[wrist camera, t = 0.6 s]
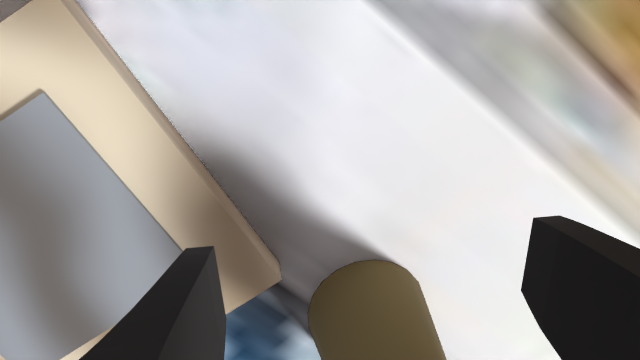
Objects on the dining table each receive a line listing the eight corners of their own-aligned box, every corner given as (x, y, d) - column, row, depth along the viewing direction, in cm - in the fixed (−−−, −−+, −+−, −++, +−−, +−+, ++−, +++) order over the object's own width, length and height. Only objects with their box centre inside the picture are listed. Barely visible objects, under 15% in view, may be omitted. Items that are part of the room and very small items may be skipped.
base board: (41, 410, 23) (25, 440, 22) (-227, 193, 18) (-272, 211, 17) (279, 262, 22) (281, 282, 21) (66, -12, 17) (47, -13, 16)
